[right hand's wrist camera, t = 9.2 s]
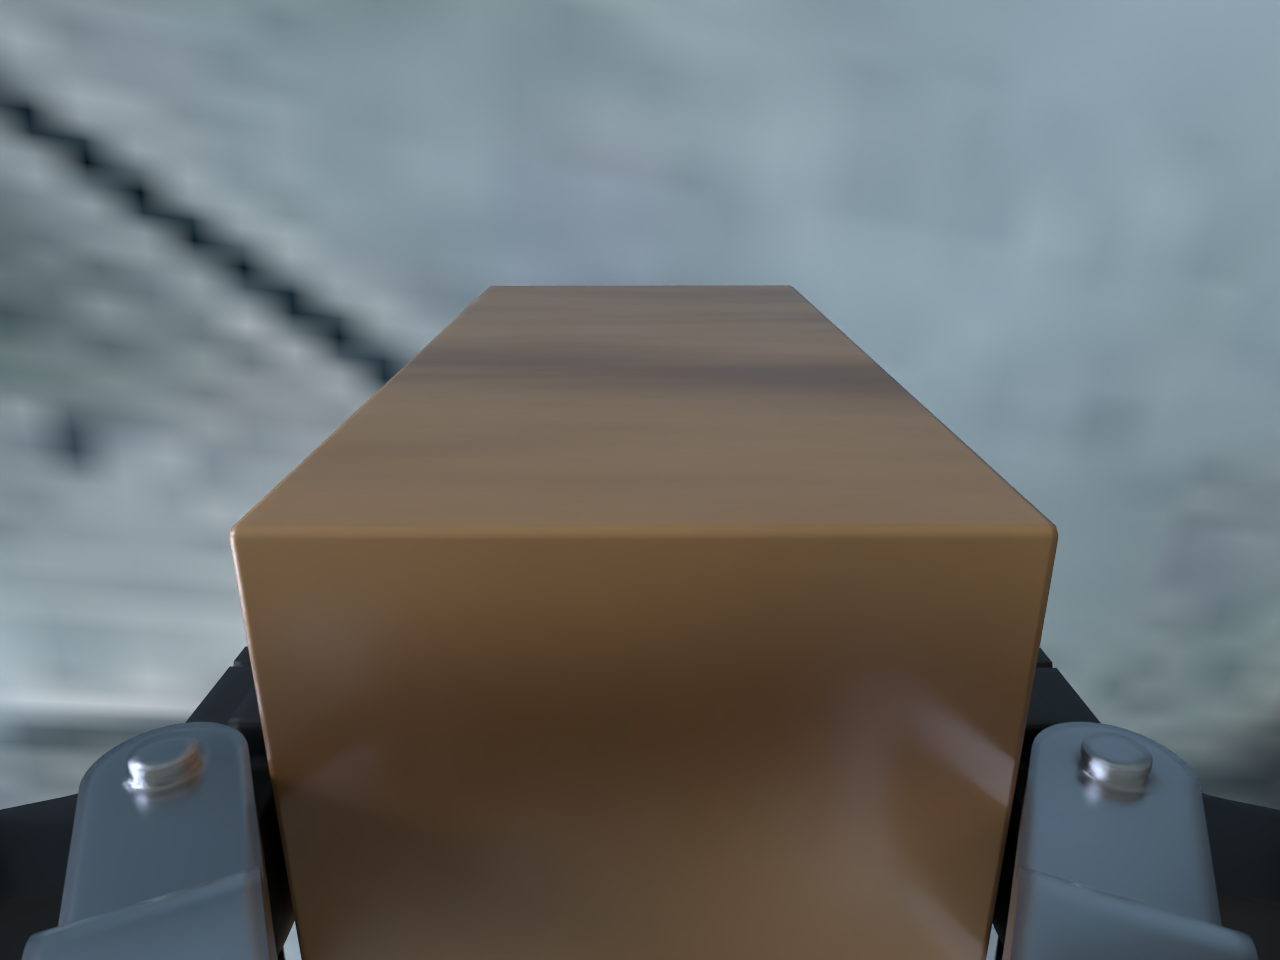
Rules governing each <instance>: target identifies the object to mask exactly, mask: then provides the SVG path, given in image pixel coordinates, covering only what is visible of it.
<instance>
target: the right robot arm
mask: <svg viewBox="0 0 1280 960" xmlns="http://www.w3.org/2000/svg"><path fill="white" fill-rule="evenodd" d="M294 921H295V918H294V912H293V906H292V900H291V894H290V889H289V883H288V877H287V871H286V865H285V859H284V854H283V848H282V842H281V836H280V830H279V824H278V819H277V813H276V807H275V801H274V795H273V790H272V784H271V778H270V772H269V766H268V760H267V755H266V749H265V743H264V737H263V731H262V725H261V720H260V714H259V708H258V702H257V696H256V691H255V685H254V679H253V673H252V667H251V661H250V656H249V650H248V647H245V648H244V649H243V650H242V652H241V653H240V654H239V655H238V657H237V658H236V659H235V661H234V666H233V667H229V668H228V669H227V671H226V672H225V673H224V674H223V676H222V677H221V678H220V680H219V681H218V682H217V683H216V685H215V686H214V687H213V688H212V690H211V691H210V692H209V693H208V695H207V696H206V697H205V699H204V700H203V701H202V702H201V704H200V705H199V706H198V707H197V709H196V710H195V711H194V712H193V714H192V715H191V716H190V717H189V719H188V720H187V721H186V723H179V724H174V725H169V726H165V727H161V728H157V729H154V730H151V731H148V732H145V733H142V734H140V735H137V736H135V737H133V738H131V739H129V740H126V741H125V742H123V743H121V744H119V745H118V746H116V747H114V748H113V749H111V750H110V751H108V752H107V753H105V754H104V755H103V756H102V757H100V758H99V759H98V760H97V761H96V762H95V763H94V764H93V765H92V766H91V767H90V768H89V769H88V771H87V772H86V773H85V775H84V777H83V778H82V780H81V783H80V787H79V791H78V794H74V795H70V796H66V797H61V798H56V799H51V800H46V801H41V802H36V803H32V804H27V805H22V806H17V807H12V808H7V809H2V810H0V960H286V958H285V952H284V947H283V946H284V943H285V941H286V939H287V937H288V934H289V932H290V930H291V928H292V925H293V923H294ZM992 923H993V925H994V928H995V930H996V932H997V934H998V941H997V946H996V952H995V958H994V960H1280V810H1276V809H1271V808H1267V807H1262V806H1257V805H1252V804H1247V803H1242V802H1237V801H1232V800H1227V799H1222V798H1218V797H1214V796H1210V795H1206V794H1203V793H1202V792H1201V787H1200V783H1199V780H1198V778H1197V777H1196V775H1195V773H1194V772H1193V771H1192V769H1191V768H1190V767H1189V766H1188V765H1187V764H1186V763H1185V762H1184V761H1183V760H1182V759H1181V758H1180V757H1178V756H1177V755H1176V754H1175V753H1173V752H1172V751H1170V750H1169V749H1167V748H1166V747H1164V746H1162V745H1161V744H1159V743H1157V742H1155V741H1154V740H1151V739H1149V738H1147V737H1145V736H1143V735H1140V734H1138V733H1135V732H1132V731H1129V730H1126V729H1123V728H1119V727H1115V726H1111V725H1106V724H1101V723H1100V722H1099V720H1098V719H1097V718H1096V717H1095V715H1094V714H1093V713H1092V712H1091V710H1090V709H1089V708H1088V707H1087V705H1086V704H1085V703H1084V702H1083V700H1082V699H1081V698H1080V697H1079V695H1078V694H1077V693H1076V692H1075V690H1074V689H1073V688H1072V687H1071V685H1070V684H1069V683H1068V682H1067V680H1066V679H1065V678H1064V677H1063V675H1062V674H1061V673H1060V672H1059V670H1058V669H1057V668H1053V667H1052V662H1051V661H1050V659H1049V658H1048V657H1047V656H1046V654H1045V653H1044V652H1043V651H1042V649H1041V648H1039V653H1038V659H1037V664H1036V670H1035V676H1034V682H1033V688H1032V694H1031V699H1030V705H1029V711H1028V717H1027V723H1026V729H1025V734H1024V740H1023V746H1022V752H1021V758H1020V764H1019V769H1018V775H1017V781H1016V787H1015V793H1014V799H1013V804H1012V810H1011V816H1010V822H1009V828H1008V834H1007V839H1006V845H1005V851H1004V857H1003V863H1002V869H1001V874H1000V880H999V886H998V892H997V898H996V904H995V909H994V915H993V921H992Z"/></svg>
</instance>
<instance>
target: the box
mask: <svg viewBox="0 0 1280 960" xmlns="http://www.w3.org/2000/svg"><path fill="white" fill-rule="evenodd" d="M1057 542H1058V532H1057V529H1056V526H1055V525H1054V524H1053V523H1052V522H1051V521H1050V520H1049V519H1047V518H1046V517H1045V516H1044V515H1043V514H1042V513H1041V512H1040V511H1039V510H1038V509H1036V508H1035V507H1034V506H1033V505H1032V504H1031V503H1030V502H1029V501H1028V500H1027V499H1025V498H1024V497H1023V496H1022V495H1021V494H1020V493H1019V492H1018V491H1017V490H1016V489H1014V488H1013V487H1012V486H1011V485H1010V484H1009V483H1008V482H1007V481H1006V480H1005V479H1003V478H1002V477H1001V476H1000V475H999V474H998V473H997V472H996V471H995V470H994V469H992V468H991V467H990V466H989V465H988V464H987V463H986V462H985V461H984V460H983V459H981V458H980V457H979V456H978V455H977V454H976V453H975V452H974V451H973V450H972V449H970V448H969V447H968V446H967V445H966V444H965V443H964V442H963V441H962V440H961V439H959V438H958V437H957V436H956V435H955V434H954V433H953V432H952V431H951V430H950V429H948V428H947V427H946V426H945V425H944V424H943V423H942V422H941V421H940V420H939V419H937V418H936V417H935V416H934V415H933V414H932V413H931V412H930V411H929V410H928V409H926V408H925V407H924V406H923V405H922V404H921V403H920V402H919V401H918V400H917V399H915V398H914V397H913V396H912V395H911V394H910V393H909V392H908V391H907V390H906V389H904V388H903V387H902V386H901V385H900V384H899V383H898V382H897V381H896V380H895V379H893V378H892V377H891V376H890V375H889V374H888V373H887V372H886V371H885V370H884V369H882V368H881V367H880V366H879V365H878V364H877V363H876V362H875V361H874V360H873V359H871V358H870V357H869V356H868V355H867V354H866V353H865V352H864V351H863V350H862V349H860V348H859V347H858V346H857V345H856V344H855V343H854V342H853V341H852V340H851V339H849V338H848V337H847V336H846V335H845V334H844V333H843V332H842V331H841V330H840V329H838V328H837V327H836V326H835V325H834V324H833V323H832V322H831V321H830V320H829V319H827V318H826V317H825V316H824V315H823V314H822V313H821V312H820V311H819V310H818V309H816V308H815V307H814V306H813V305H812V304H811V303H810V302H809V301H808V300H807V299H805V298H804V297H803V296H802V295H801V294H800V293H799V292H798V291H797V290H796V289H794V288H793V287H792V286H491V287H489V288H488V289H487V290H486V291H485V292H484V293H482V294H481V295H480V296H479V297H478V298H477V299H476V300H475V301H474V302H473V303H472V304H471V305H470V306H469V307H467V308H466V309H465V310H464V311H463V312H462V313H461V314H460V315H459V316H458V317H457V318H456V319H455V320H454V321H453V322H451V323H450V324H449V325H448V326H447V327H446V328H445V329H444V330H443V331H442V332H441V333H440V334H439V335H438V336H436V337H435V338H434V339H433V340H432V341H431V342H430V343H429V344H428V345H427V346H426V347H425V348H424V349H423V350H421V351H420V352H419V353H418V354H417V355H416V356H415V357H414V358H413V359H412V360H411V361H410V362H409V363H408V364H406V365H405V366H404V367H403V368H402V369H401V370H400V371H399V372H398V373H397V374H396V375H395V376H394V377H393V378H391V379H390V380H389V381H388V382H387V383H386V384H385V385H384V386H383V387H382V388H381V389H380V390H379V391H378V392H376V393H375V394H374V395H373V396H372V397H371V398H370V399H369V400H368V401H367V402H366V403H365V404H364V405H363V406H361V407H360V408H359V409H358V410H357V411H356V412H355V413H354V414H353V415H352V416H351V417H350V418H349V419H348V420H346V421H345V422H344V423H343V424H342V425H341V426H340V427H339V428H338V429H337V430H336V431H335V432H334V433H333V434H331V435H330V436H329V437H328V438H327V439H326V440H325V441H324V442H323V443H322V444H321V445H320V446H319V447H318V448H316V449H315V450H314V451H313V452H312V453H311V454H310V455H309V456H308V457H307V458H306V459H305V460H304V461H303V462H302V463H300V464H299V465H298V466H297V467H296V468H295V469H294V470H293V471H292V472H291V473H290V474H289V475H288V476H287V477H285V478H284V479H283V480H282V481H281V482H280V483H279V484H278V485H277V486H276V487H275V488H274V489H273V490H272V491H270V492H269V493H268V494H267V495H266V496H265V497H264V498H263V499H262V500H261V501H260V502H259V503H258V504H257V505H255V506H254V507H253V508H252V509H251V510H250V511H249V512H248V513H247V514H246V515H245V516H244V517H243V518H242V519H240V520H239V521H238V522H237V523H236V524H235V525H234V526H233V527H232V529H231V532H230V545H231V551H232V557H233V562H234V568H235V574H236V580H237V586H238V592H239V597H240V603H241V609H242V615H243V621H244V626H245V632H246V638H247V644H248V650H249V656H250V661H251V667H252V673H253V679H254V685H255V691H256V696H257V702H258V708H259V714H260V720H261V725H262V731H263V737H264V743H265V749H266V755H267V760H268V766H269V772H270V778H271V784H272V790H273V795H274V801H275V807H276V813H277V819H278V824H279V830H280V836H281V842H282V848H283V854H284V859H285V865H286V871H287V877H288V883H289V889H290V894H291V900H292V906H293V912H294V918H295V923H296V929H297V935H298V941H299V947H300V953H301V958H302V960H986V956H987V950H988V944H989V939H990V933H991V927H992V921H993V915H994V909H995V904H996V898H997V892H998V886H999V880H1000V874H1001V869H1002V863H1003V857H1004V851H1005V845H1006V839H1007V834H1008V828H1009V822H1010V816H1011V810H1012V804H1013V799H1014V793H1015V787H1016V781H1017V775H1018V769H1019V764H1020V758H1021V752H1022V746H1023V740H1024V734H1025V729H1026V723H1027V717H1028V711H1029V705H1030V699H1031V694H1032V688H1033V682H1034V676H1035V670H1036V664H1037V659H1038V653H1039V647H1040V641H1041V635H1042V629H1043V623H1044V618H1045V612H1046V606H1047V600H1048V594H1049V588H1050V583H1051V577H1052V571H1053V565H1054V559H1055V553H1056V548H1057Z"/></svg>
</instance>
